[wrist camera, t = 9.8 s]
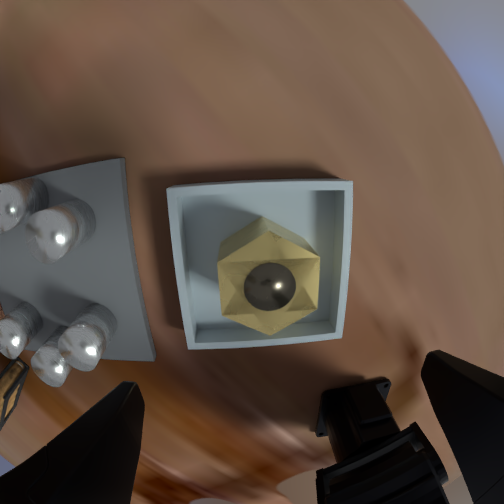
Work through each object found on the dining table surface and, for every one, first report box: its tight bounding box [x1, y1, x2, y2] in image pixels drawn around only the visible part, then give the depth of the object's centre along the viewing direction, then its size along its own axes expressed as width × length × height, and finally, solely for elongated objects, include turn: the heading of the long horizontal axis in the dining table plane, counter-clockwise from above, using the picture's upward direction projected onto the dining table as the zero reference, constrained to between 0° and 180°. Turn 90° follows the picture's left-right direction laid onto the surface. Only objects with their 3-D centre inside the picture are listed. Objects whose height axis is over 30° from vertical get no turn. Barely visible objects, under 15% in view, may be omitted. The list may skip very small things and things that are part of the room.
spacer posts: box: [0, 177, 118, 387], centre depth 15 cm, size 14×10×4 cm
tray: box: [166, 178, 353, 349], centre depth 17 cm, size 10×10×2 cm
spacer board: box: [0, 158, 156, 361], centre depth 17 cm, size 14×14×1 cm
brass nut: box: [217, 216, 320, 336], centre depth 16 cm, size 6×5×4 cm
